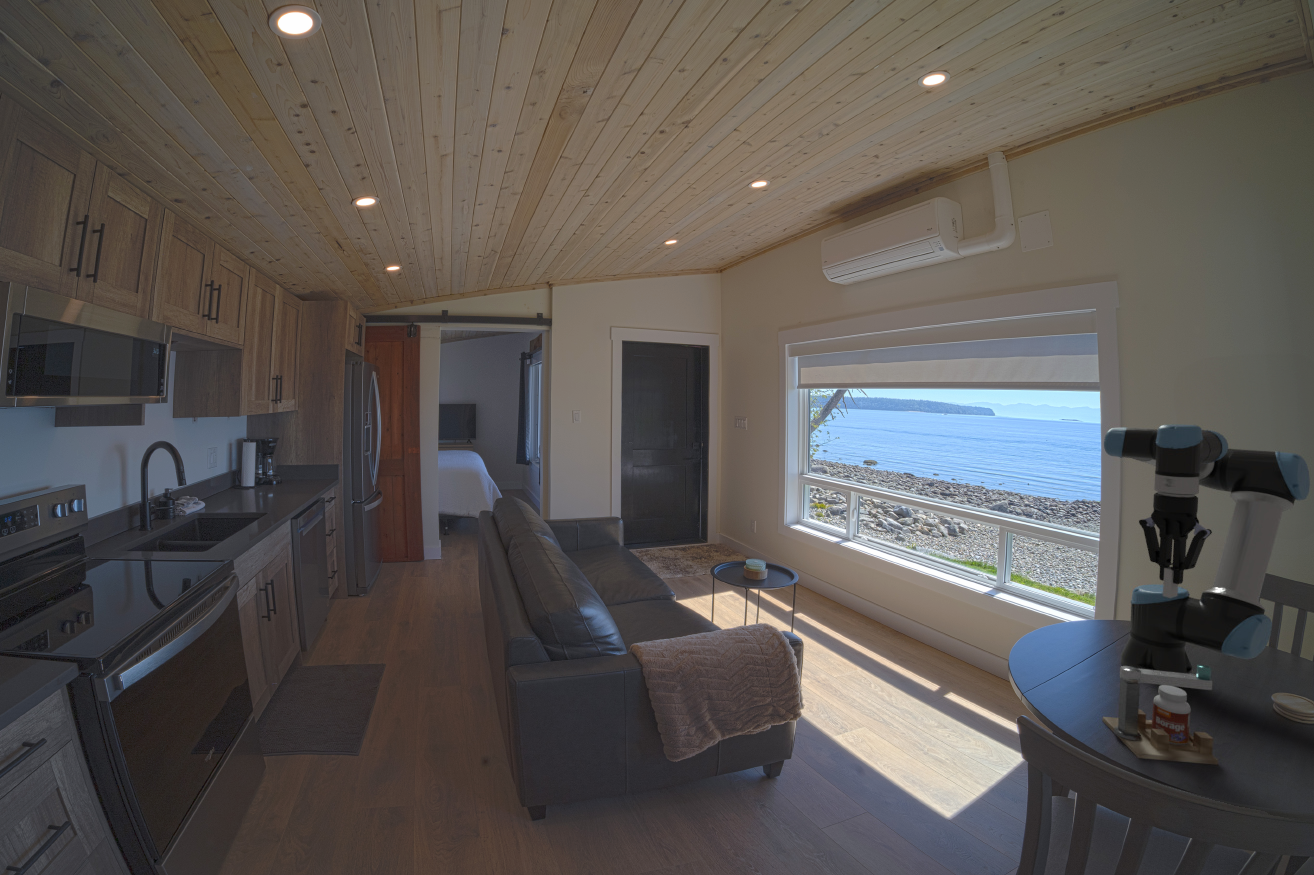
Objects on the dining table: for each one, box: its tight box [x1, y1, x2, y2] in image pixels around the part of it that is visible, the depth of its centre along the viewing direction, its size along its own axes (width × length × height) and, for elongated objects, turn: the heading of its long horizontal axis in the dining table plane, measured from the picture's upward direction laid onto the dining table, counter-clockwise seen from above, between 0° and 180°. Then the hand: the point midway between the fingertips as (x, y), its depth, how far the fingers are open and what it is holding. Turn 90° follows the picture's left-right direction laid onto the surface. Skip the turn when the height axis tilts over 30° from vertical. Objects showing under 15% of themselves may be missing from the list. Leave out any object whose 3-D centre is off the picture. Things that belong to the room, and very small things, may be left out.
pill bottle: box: [1151, 685, 1192, 745], centre depth 130 cm, size 6×6×11 cm
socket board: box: [1102, 708, 1219, 765], centre depth 131 cm, size 15×14×4 cm
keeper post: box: [1113, 677, 1141, 741], centre depth 132 cm, size 5×5×12 cm
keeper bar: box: [1119, 664, 1213, 691], centre depth 129 cm, size 16×4×4 cm, turn 72°
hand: (1170, 595), depth 135 cm, fingers closed
